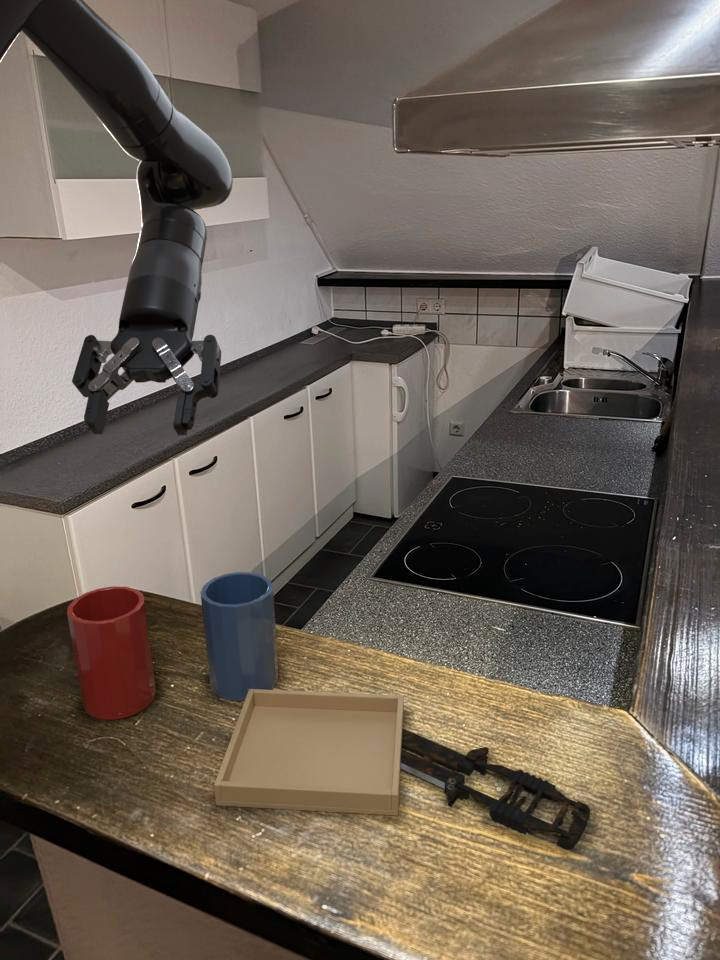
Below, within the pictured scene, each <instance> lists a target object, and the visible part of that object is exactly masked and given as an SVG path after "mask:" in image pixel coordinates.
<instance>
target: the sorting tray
mask: <svg viewBox="0 0 720 960" xmlns="http://www.w3.org/2000/svg"><path fill="white" fill-rule="evenodd" d="M404 697H405V696H404V695H401V694H400V695H399V694H398V695H397V694H375V693H374V694H373V693H353V692H331V691H329V692H328V691H305V690H304V691H303V690H283V689H282V690H281V689H272V690H261V689H255V690H254V689H249V691H248V693H247V696H246V699H245V701H243V704H242V707H241V710H240V713H239V716H238V718H237V720H236V724H235V726H234V729H233V732H232V735H231V737H230V740H229V743H228V746H227V748H226V751H225V754H224V757H223V759H222V762H221V764H220V768H219V770H218V773H217V775H216V778H215V781H214V784H213V788H214V789H213V790H214V798H215V799H214V800H215V806H219V807H235V808H236V807H238V808H252V809H253V808H255V809H272V810H290V811H291V810H292V811H307V812H309V811H310V812H324V813H325V812H326V813H341V814H342V813H343V814H344V813H345V814H360V815H378V816H395V817H396V816H397V817H398V816H399V807H400V806H399V803H400V789H401V788H400V786H401V770H402V769H401V749H403V747H402V730H403V729H404V715H405V712H404V705H405V703H404V702H405V700H404V699H405V698H404Z"/></svg>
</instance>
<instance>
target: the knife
mask: <svg viewBox="0 0 720 960" xmlns="http://www.w3.org/2000/svg"><path fill="white" fill-rule="evenodd" d="M489 750H490V748H489V747H486V746H484V747H479V748H475V749H470V750H469V751H468V752H467V754H466V755H465V754H463V753H461V752H458V751H456V750H454V749H451V748H449V747H448V746H445V745H442V744H440V743H438V742H435V741H433V740H430V739H429V738H427V737H424V736H422V735H419V734H416V733H414V732H413V731H410V730H408V729H406V728H403V730H402V749H401V770H403V771H405V772H407V773H409V774H411V775H413V776H415V777H418V778H420V779H422V780H424V781H426V782H428V783H430V784H433V785H435V786H437V787H439V788H441V789H443V790H444V793H445V794H446V795H447V800H448V801H449V802H447V806H448V807H450V808H452V807H453V806H454V804H456V802H457V800H460V801H463V800H465V801H468V800H469V798H470V797H472V798H473V800H474V801H476V802H478V803H479V804H481V805H484V806H485V807H488V808H489V817H490V819H491V821H493V822H497V824H499V825H502V826H504V827H506V828H509V829H511V830H512V831H514V832H515V831H516V832H517V833H519V834H521V835H522V834H523V835H524V836H526V835H527V833H528V829H530V830H532V831H541V832H545V833H555V834H557V835H559V836H558V838H557V842H556V846H557V847H559V848H561V849H564V850H565V851H570V850H574V849H575V847H576V845H577V844H578V843H579V841H580V839H581V837H582V836H583V834H584V832H585V829H586V828H587V826H588V822H589V819H590V817H591V808H590V807H589V806H588V805H587V804H586V803H585V802H581V801H579V800H577V801H576V800H573V799H570V798H568V797H567V796H565V795H564V794H563V793H561V791H559V790H558V789H557V788H556V785H555V784H553V783H551V782H549V780H546V779H545V780H543V778H542V777H536V775H535V774H530V773H529V772H527V771H525V772H524V770H522V769H519V770H513V769H512V768H509V767H507V766H505V765H501V764H492V763H488V759H489V756H488V754H489V752H490V751H489ZM416 754H417V755H416ZM418 755H420V756H421V757H420V756H418ZM434 762H435V763H434ZM438 764H440V765H438ZM441 765H442V766H441ZM443 766H444V767H443ZM445 767H447V768H445ZM450 769H451V770H450ZM475 771H476V772H477V773H479V775H481V776H483V777H485V776H486V775H487V773H488V771H491V772H492V773H494V774H496V775H500V776H502V777H503V778H506V779H508V780H511V782H510V785H509V786H508V789H507V791H506V792H505V793H504V794H503V795H502V796H501V797H499V798H498V799H496V798H494V797H492V796H490V795H488V794H485V793H484V792H481V791H479V790H477V789H474V788H472V787H470V786H468V785H466V784H465V780H466V777H471V775H472V774H473V772H475ZM516 785H517V786H516ZM523 786H524V787H525V788H527V789H529V790H530V789H531V790H532V791H534V792H536V794H535V796H534V797H533V798H532V800H531V802H530V803H529V805H528V807H527V809H526V810H525V811H523V809H522V808H519V807H521V806H522V805H523V804H524V803H525V802H526V801H527V799H528V797H527V796H525V795H524V796H522V797H521V798H520V799H518V797H519V795H520V792H521V791H522V788H523ZM515 787H516V789H515ZM514 790H515V791H514ZM542 795H546V796H547V797H550V798H552V799H554V800H557V801H559V802H562V803H563V804H562V806H561V808H560V809H559V811H558V813H557V815H556V816H555V818H554V820H553V822H552V823H549V822H547V821H545V820H543V819H541V818H539V817H537V816H534V815H532V814H531V813H532V811H533V810H534V808H535V807H536V805H537V803H538V802H539V801H540V798H541V797H542ZM517 799H518V800H517ZM509 800H510V801H509ZM508 802H509V803H508ZM570 806H571V807H573V808H572V810H571V812H570V814H571V815H572V816H574V818H573V819H572V821H571V824H570V826H569V829H568V831H567V830H565V829H563V828H562V827H558V826H562V825H563V822H564V816H565V814H566V813H567V810H568V809H569V807H570Z"/></svg>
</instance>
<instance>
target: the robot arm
mask: <svg viewBox="0 0 720 960" xmlns="http://www.w3.org/2000/svg"><path fill="white" fill-rule="evenodd" d="M20 33H23V34H24V35H25V36H26V37H27V38H28V39H29V41H31V42H32V43H33V44H34V45H35V46H36V48H37V49H39V51H40V52H41V53H42V54H43V55H44V56H45V57H46V58H47V59H48V60H49V62H50V63H51V64H52V65H53V66H54V67H55V69H57V71H58V72H59V73H60V74H61V75H62V77H64V78H65V79H66V81H67V82H68V83H69V84H70V86H71V87H72V88H73V89H74V90H75V92H76V93H77V94H78V95H79V96H80V97H81V98H82V100H83V101H84V103H85V104H86V105H87V106H88V107H89V109H90V111H92V113H93V114H94V115H95V117H96V118H97V119H98V120H99V122H101V124H102V125H103V126H104V128H105V129H106V130H107V131H108V133H109V134H110V135H111V136H112V138H113V139H114V141H116V143H117V144H118V145H119V146H120V148H122V151H124V152H125V153H126V154H127V155H128V156H129V157H131V158H133V159H135V160H137V161H139V164H138V166H137V169H136V184H137V189H138V193H139V194H138V195H139V196H138V197H139V203H140V205H139V206H140V217H141V229H140V233H139V236H138V242H137V246H136V252H135V256H134V257H133V260H132V262H131V265H130V267H129V268H130V269H129V271H128V276H127V282H126V287H125V291H124V295H123V301H122V305H121V309H120V314H119V320H118V330H117V334H116V335H115V337H113V339H112V340H98V338H97V336H96V335H94V334H89V335H87V336H85V338H84V339H83V342H82V346H81V350H80V352H79V356H78V360H77V362H76V365H75V369H74V373H73V376H72V379H71V383H72V384H73V386H74V387H75V388H76V390H77V391H78V392H79V393H80V394H81V395H82V397H84V398H87V401H86V406H85V411H84V414H83V421H84V423H85V424H86V426H87V427H88V429H89V430H90V431H91V432H92V434H94V435H103V434H104V432H105V425H106V421H107V417H108V411H109V408H110V402H109V400H110V399H111V398H112V397H114V395H116V394H117V392H119V391H123V390H125V389H126V388H128V387H129V385H131V384H132V382H135V383H137V384H138V383H139V384H141V383H142V384H143V383H147V382H154V383H160V384H162V383H163V384H164V383H166V382H167V381H168V380H170V379H173V381H174V382H175V384H176V385H177V387H178V388H179V390H180V391H181V392H178V393H177V399H176V406H175V411H174V418H173V423H172V424H173V425H172V426H173V429H174V431H175V432H176V434H177V436H187V434H188V431H192V428H193V427H194V425H195V419H196V413H197V406H198V403H199V402H200V401H201V400H202V399H205V398H209V399H215V398H216V397H217V396H218V395H219V389H220V377H221V376H220V375H221V364H222V350H221V347H220V345H219V342H218V340H217V338H216V336H215V335H214V334H208V335H206V336H205V337H204V338H203V339H202V340H193V339H194V333H195V328H196V322H197V321H196V320H197V315H198V309H199V302H200V301H201V296H202V291H201V289H202V283H203V282H202V278H203V277H202V274H203V273H202V271H203V264H204V258H205V251H206V246H207V240H208V236H207V234H208V230H207V225H206V223H205V220H204V219H203V218H202V216H201V215H200V214H199V213H198V212H196V211H197V210H201V209H202V210H203V209H209V208H213V207H216V206H217V207H218V206H220V205H222V204H223V203H225V202H226V200H227V199H229V197H230V195H231V192H232V189H233V183H234V177H233V171H232V167H231V165H230V164H231V163H230V162H229V160H228V158H227V155H226V154H225V152H224V151H223V150H222V148H221V147H220V146H219V144H218V143H217V142H216V141H215V140H214V139H213V138H212V137H211V136H210V135H208V133H207V132H205V131H204V130H203V129H202V128H201V127H199V126H198V125H197V124H196V123H194V122H193V121H192V120H191V119H190V118H189V117H188V116H187V115H185V114H184V113H182V112H181V111H180V110H179V109H177V108H176V107H175V106H174V104H173V102H172V101H171V99H170V98H169V96H168V94H167V93H166V91H165V90H164V89H163V87H162V86H161V84H160V82H159V81H158V79H157V78H156V77H155V75H154V73H153V72H152V71H151V69H150V68H149V67H148V65H147V64H146V62H145V61H144V60H143V59H142V58H141V56H140V55H139V53H137V52H136V51H135V49H133V47H132V46H131V45H130V44H129V43H128V42H127V41H126V40H125V39H123V38H122V36H121V35H120V34H118V32H116V31H115V30H114V29H113V28H112V27H111V25H109V24H108V23H107V22H106V21H105V20H104V19H103V18H102V17H101V16H100V15H99V14H98V13H97V12H96V11H95V10H94V9H93V8H91V6H89V4H88V3H87V2H86V1H85V0H0V63H1V62H2V60H3V58H4V57H5V55H6V54H7V52H8V50H9V49H10V48H11V47H12V45H13V43H14V42H15V41H16V39H17V38H18V36H19V35H20ZM110 355H113V356H112V357H110V359H109V360H107V359H108V357H109V356H110ZM194 355H197V357H198V359H199V360H200V362H201V367H200V368H201V369H200V379H198V380H195V381H193V380H192V379H191V378H190V377H189V375H188V374H187V372H186V371H185V369H184V366H185V365H187V363H188V362H189V361H190V360H192V358H193V357H194ZM102 364H104V365H103V366H102ZM101 367H102V370H101ZM120 369H122V370H123V372H122V373H121V374H120V373H119V370H120Z"/></svg>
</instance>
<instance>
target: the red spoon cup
mask: <svg viewBox="0 0 720 960" xmlns="http://www.w3.org/2000/svg"><path fill="white" fill-rule="evenodd" d="M66 615H67V622H68V627H69V633H70V638H71V644H72V650H73V656H74V662H75V669H76V674H77V679H78V684H79V692H80V696H81V701H82V702H81V703H82V705H83V709H84V710H85V712H86V714H88V715H89V716H90V717H92V718H95V719H98V720H104V721H115V720H121V719H125V718H129V717H132V716H135V715H137V714H139V713H141V712H142V711H144V710H145V709H147V707H149V706H150V705H151V704H152V702H153V701H154V699H155V697H156V695H157V688H156V681H155V672H154V664H153V657H152V649H151V642H150V634H149V627H148V618H147V611H146V603H145V596H144V594H143V593H142V592H140V591H139V590H138V589H136V588H132V587H129V586H119V585H117V586H115V585H113V586H106V587H100V588H96V589H93V590H90V591H87V592H85V593H83V594H81V595H79V596H78V597H76V598H74V599H73V600H72V602H70V603H69V604H68V606H67V611H66Z"/></svg>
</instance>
